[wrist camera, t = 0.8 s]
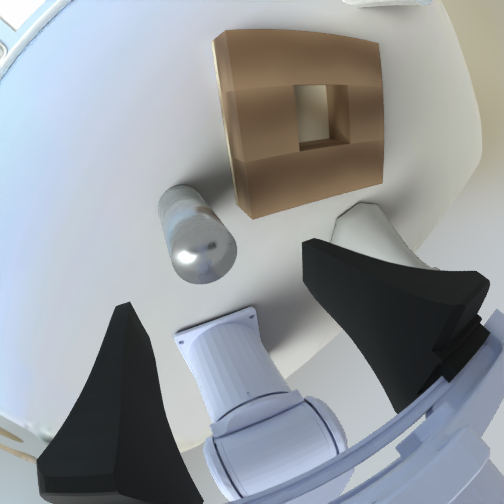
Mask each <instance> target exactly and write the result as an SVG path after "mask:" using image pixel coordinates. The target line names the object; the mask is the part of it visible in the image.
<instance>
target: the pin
mask: <svg viewBox="0 0 504 504" xmlns="http://www.w3.org/2000/svg"><path fill="white" fill-rule="evenodd" d="M158 213H159V217H160V221H161V225H162V228H163V232H164V236H165V240H166V243H167V247H168V250H169V254H170V257H171V261H172V264H173V267H174V270H175V271H176V273H177V274H178V275H179V276H180V277H181V278H182V279H183V280H185V281H187V282H189V283H193V284H207V283H211V282H214V281H216V280H218V279H220V278H221V277H223V276H224V275H225V274H226V273H227V272H228V271H229V270H230V269H231V268H232V266H233V264H234V262H235V259H236V256H237V245H236V242H235V239H234V237H233V236H232V235H231V233H230V232H229V231H228V229H227V228H226V227H225V226H224V224H223V223H222V222H221V221H220V219H219V218H218V217H217V215H216V214H215V213H214V212H213V210H212V209H211V208H210V207H209V205H208V204H207V203H206V201H205V200H204V199H203V198H202V196H201V195H200V194H199V193H198V191H196V190H195V189H194V188H192V187H190V186H186V185H178V186H174V187H172V188H170V189H168V190H167V191H166V192H165V193H164V194H163V195H162V197H161V199H160V201H159V204H158Z"/></svg>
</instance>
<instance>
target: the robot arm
mask: <svg viewBox="0 0 504 504" xmlns="http://www.w3.org/2000/svg"><path fill="white" fill-rule="evenodd" d="M302 263H303V282H304V283H305V285H306V286H307V288H308V289H309V291H310V292H311V294H312V295H313V296H314V298H315V299H316V300H317V301H318V302H319V304H320V305H321V306H322V307H323V308H324V309H325V310H326V311H327V312H328V313H329V314H330V315H331V317H332V318H333V319H334V320H335V321H336V322H337V323H338V324H339V325H340V326H341V327H342V328H343V330H345V332H346V333H347V334H348V335H349V336H350V338H351V339H352V340H353V342H354V343H355V344H356V346H357V347H358V349H359V350H360V351H361V353H362V354H363V355H364V357H365V359H366V360H367V362H368V363H369V365H370V366H371V368H372V369H373V371H374V373H375V374H376V376H377V378H378V379H379V381H380V383H381V385H382V386H383V388H384V390H385V392H386V394H387V396H388V398H389V400H390V401H391V404H392V406H393V408H394V410H395V412H396V413H397V414H398V415H396V416H395V417H394V418H393V419H391V420H390V421H389V422H387V423H386V424H385V425H383V426H382V427H380V428H379V429H378V430H376V431H375V432H373V433H372V434H370V435H369V436H367V437H366V438H364V439H363V440H361V441H360V442H359V443H357V444H355V445H354V446H352V447H350V448H349V449H348V447H347V438H346V435H345V432H344V429H343V427H342V425H341V424H340V422H339V420H338V418H337V417H336V415H335V414H334V412H333V411H332V410H331V409H330V408H329V406H327V404H326V403H324V402H323V401H322V400H320V399H317V398H314V397H312V396H307V397H305V398H303V397H302V396H301V394H300V393H299V391H298V390H294V391H291V389H290V388H289V386H288V385H287V383H286V382H285V380H284V378H283V377H282V375H281V374H280V372H279V370H278V369H277V367H276V366H275V364H274V362H273V361H272V359H271V358H270V356H269V354H268V353H267V351H266V349H265V348H264V346H263V344H262V343H261V338H260V332H259V326H258V320H257V314H256V310H255V308H254V307H248V308H246V309H243V310H240V311H238V312H235V313H232V314H230V315H227V316H224V317H221V318H219V319H216V320H213V321H210V322H208V323H205V324H202V325H199V326H196V327H194V328H191V329H188V330H185V331H182V332H179V333H177V334H175V335H174V339H175V342H176V344H177V346H178V348H179V350H180V352H181V353H182V355H183V357H184V359H185V361H186V363H187V365H188V366H189V368H190V370H191V372H192V374H193V375H194V377H195V379H196V381H197V384H198V386H199V389H200V392H201V395H202V397H203V400H204V403H205V405H206V408H207V411H208V413H209V416H210V418H211V421H212V423H213V424H211V425H210V428H211V431H212V433H213V436H211V437H208V438H206V441H205V444H204V446H203V452H204V456H205V460H206V462H207V465H208V468H209V470H210V472H211V474H212V477H213V478H214V480H215V482H216V484H217V486H218V487H219V489H220V490H221V492H222V493H223V495H224V496H225V497H226V498H227V499H229V500H230V502H228V503H225V504H504V476H503V475H502V474H501V473H500V471H499V470H498V469H497V468H496V467H495V465H494V464H493V463H492V462H491V461H490V459H489V456H490V448H489V447H488V445H487V444H486V443H485V442H484V441H483V440H482V439H481V437H482V435H483V433H484V432H485V430H486V429H487V427H488V425H489V424H490V422H491V420H492V418H493V416H494V415H495V413H496V411H497V409H498V408H499V405H500V404H501V402H502V400H503V398H504V314H503V313H501V312H500V311H499V310H498V309H496V310H495V311H494V313H493V314H492V315H491V317H490V318H489V319H488V321H487V322H486V324H485V325H484V326H483V325H481V324H480V322H481V320H482V318H481V317H480V316H479V315H478V314H477V313H478V311H479V309H480V307H481V305H482V303H483V301H484V299H485V297H486V295H487V292H488V290H489V287H490V281H489V280H488V279H487V278H486V277H484V276H483V275H481V274H480V273H478V272H477V271H440V270H429V269H422V268H415V267H410V266H405V265H400V264H396V263H391V262H387V261H384V260H380V259H377V258H374V257H370V256H367V255H364V254H361V253H358V252H355V251H352V250H349V249H346V248H344V247H341V246H338V245H335V244H332V243H329V242H326V241H323V240H320V239H316V238H313V239H310V240H307V241H305V242H302ZM251 315H252V316H251ZM426 412H427V413H426ZM425 413H426V420H425V421H424V422H423V423H422V424H421V425H420V426H418V427H417V428H416V429H415V430H414V431H413V432H412V433H411V434H410V435H409V436H408V437H406V438H405V439H404V440H403V441H402V442H401V443H399V444H398V445H397V446H396V450H397V451H398V452H399V453H400V455H401V456H400V457H399V458H398V459H396V460H395V461H394V462H392V463H391V464H390V465H388V466H387V467H386V468H384V469H383V470H381V471H380V472H378V473H377V474H376V475H374V476H373V477H371V478H370V479H368V480H366V481H365V482H363V483H362V484H360V485H358V486H357V487H355V488H354V489H352V490H350V491H348V492H347V493H345V494H343V495H342V496H340V494H341V493H342V491H343V490H344V488H345V487H346V485H347V483H348V481H349V480H350V478H351V476H352V474H353V472H354V467H355V466H357V465H358V464H360V463H362V462H363V461H365V460H366V459H368V458H369V457H371V456H372V455H374V454H375V453H376V452H378V451H379V450H380V449H382V448H383V447H385V446H386V445H387V444H389V443H390V442H392V441H393V440H394V439H395V438H397V437H398V436H399V435H401V434H402V433H403V432H404V431H405V430H407V429H408V428H409V427H410V426H412V425H413V424H414V423H415V422H416V421H417V420H419V419H420V418H421V417H422V416H423V415H424V414H425ZM37 474H38V485H39V492H40V496H41V497H42V498H43V499H44V500H46V501H48V502H50V503H53V504H203V502H204V500H203V498H202V497H201V495H200V493H199V491H198V489H197V488H196V486H195V484H194V482H193V480H192V478H191V476H190V474H189V472H188V470H187V468H186V466H185V464H184V462H183V459H182V457H181V455H180V452H179V450H178V447H177V445H176V442H175V440H174V437H173V434H172V432H171V429H170V426H169V423H168V420H167V417H166V413H165V410H164V405H163V400H162V395H161V390H160V384H159V379H158V373H157V367H156V361H155V356H154V353H153V349H152V345H151V342H150V338H149V336H148V334H147V332H146V330H145V329H144V327H143V325H142V323H141V321H140V320H139V318H138V316H137V314H136V312H135V310H134V308H133V306H132V305H131V303H130V302H127V303H124V304H121V305H118V306H116V307H115V309H114V312H113V315H112V317H111V320H110V323H109V326H108V329H107V331H106V334H105V337H104V340H103V342H102V345H101V348H100V351H99V353H98V356H97V358H96V361H95V363H94V366H93V368H92V371H91V373H90V375H89V378H88V380H87V382H86V384H85V386H84V388H83V390H82V392H81V394H80V396H79V398H78V399H77V401H76V403H75V405H74V407H73V408H72V410H71V412H70V414H69V416H68V417H67V419H66V420H65V422H64V424H63V425H62V427H61V428H60V430H59V431H58V433H57V434H56V436H55V437H54V438H53V440H52V441H51V443H50V444H49V445H48V446H47V448H46V449H45V450H44V452H43V453H42V454H41V455H40V457H39V458H38V459H37ZM339 496H340V497H339Z"/></svg>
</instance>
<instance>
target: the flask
mask: <svg viewBox="0 0 504 504" xmlns="http://www.w3.org/2000/svg"><path fill="white" fill-rule="evenodd" d="M331 243H332V244H335V245H338V246H341V247H344V248H346V249H349V250H352V251H355V252H358V253H361V254H364V255H367V256H370V257H374V258H377V259H380V260H384V261H387V262H391V263H396V264H400V265H405V266H410V267H415V268H422V269H429V270H439V269H438V268H436V267H434V268H431V267H429V266H428V265H426V264H425V263H424V262H422V261H421V260H420V259H419V258H418V257H417V256H416V255H415V254H414V253H413V252H412V251H411V250H410V249H409V248H408V246H407V245H406V243H405V242H404V241H403V239H402V238H401V237H400V235H399V234H398V232H397V231H396V230H395V228H394V227H393V226H392V224H391V223H390V221H389V220H388V218H387V217H386V216H385V214H384V213H383V212H382V210H381V209H380V208H379V206H378V205H377V204H365V203H358V204H357V205H355V206H354V207H353V208H351V209H350V210H349V211H347V212H346V213H345V214H343V215H342V216H341V217H339V218H338V219H337V221H336V225H335V229H334V233H333V236H332V240H331Z"/></svg>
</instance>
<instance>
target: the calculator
mask: <svg viewBox="0 0 504 504" xmlns="http://www.w3.org/2000/svg"><path fill="white" fill-rule="evenodd" d="M71 1H72V0H0V79H1V78H2V77H3V75H4V74H5V72H6V71H7V70H8V68H9V67H10V66H11V64H12V63H13V62H14V60H15V59H16V58H17V57H18V55H19V54H20V53H21V52H22V51H23V49H24V48H25V47H26V46H27V45H28V43H29V42H30V41H31V40H32V39H33V38H34V37H35V36H36V35H37V33H38V32H39V31H40V30H41V29H42V28H43V27H44V26H45V25H46V24H47V23H48V22H49V21H50V20H51V19H52V18H53V17H54V16H55V15H56V14H57V13H58V12H59V11H61V10H62V9H63V8H64V7H65V6H66V5H67V4H68V3H69V2H71Z"/></svg>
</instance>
